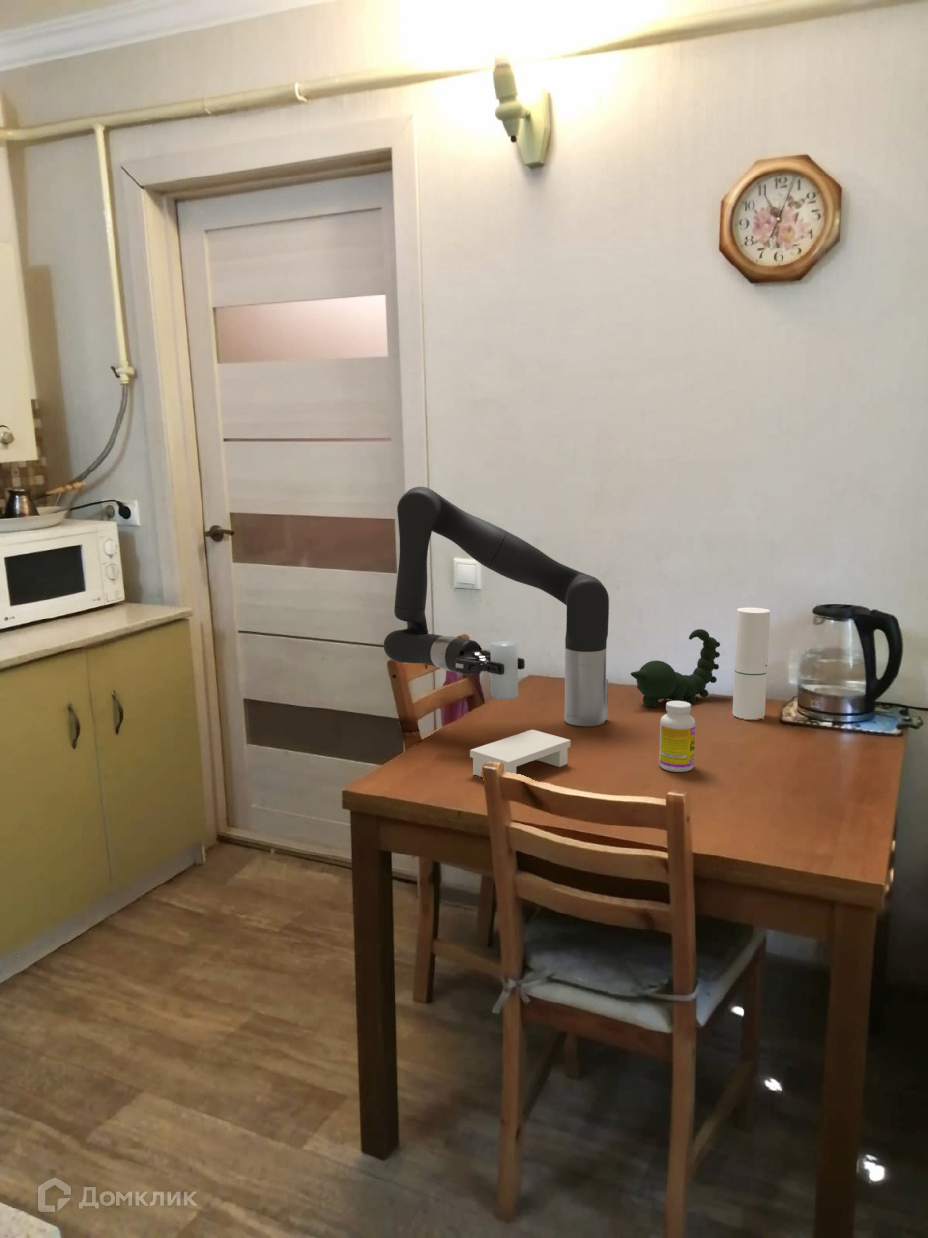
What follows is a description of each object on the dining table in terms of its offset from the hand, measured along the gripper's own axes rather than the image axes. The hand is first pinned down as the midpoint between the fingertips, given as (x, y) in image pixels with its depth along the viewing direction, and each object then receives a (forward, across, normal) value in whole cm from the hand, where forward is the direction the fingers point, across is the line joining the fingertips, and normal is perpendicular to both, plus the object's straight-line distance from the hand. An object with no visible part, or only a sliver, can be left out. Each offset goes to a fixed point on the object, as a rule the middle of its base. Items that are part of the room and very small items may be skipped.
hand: (513, 666), depth 189 cm
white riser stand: (+9, -8, +18) cm, 22 cm away
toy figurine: (+4, +53, +18) cm, 56 cm away
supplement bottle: (+30, +14, +18) cm, 38 cm away
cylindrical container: (+23, +55, +18) cm, 62 cm away
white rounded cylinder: (-3, 0, +6) cm, 7 cm away
